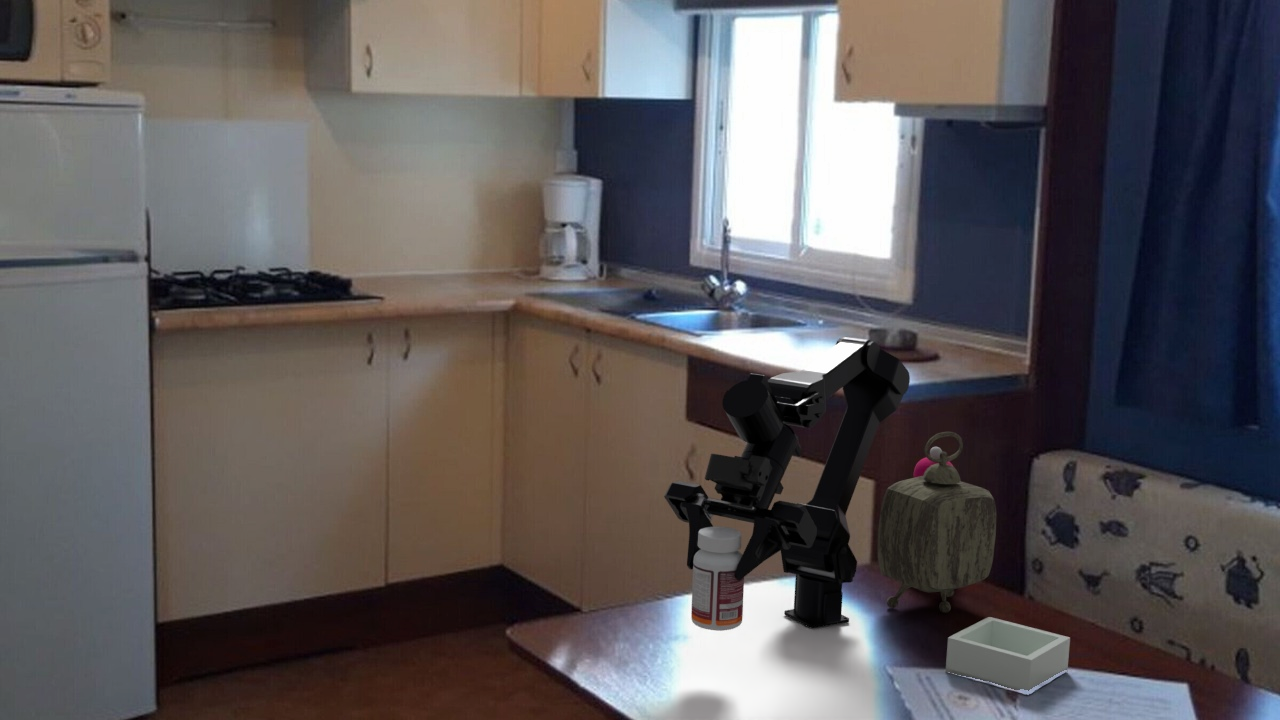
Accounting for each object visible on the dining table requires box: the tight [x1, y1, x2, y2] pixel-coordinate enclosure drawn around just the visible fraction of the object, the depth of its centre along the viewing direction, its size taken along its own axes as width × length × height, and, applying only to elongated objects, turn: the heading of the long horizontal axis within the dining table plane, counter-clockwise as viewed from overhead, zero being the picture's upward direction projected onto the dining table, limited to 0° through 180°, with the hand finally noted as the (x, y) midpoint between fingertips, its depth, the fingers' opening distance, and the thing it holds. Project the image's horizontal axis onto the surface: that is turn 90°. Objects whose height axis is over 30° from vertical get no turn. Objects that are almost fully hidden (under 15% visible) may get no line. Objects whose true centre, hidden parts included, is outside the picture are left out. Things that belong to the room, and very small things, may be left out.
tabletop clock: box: [877, 431, 997, 614], centre depth 215 cm, size 14×9×25 cm, turn 124°
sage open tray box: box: [945, 616, 1071, 691], centre depth 193 cm, size 11×11×4 cm
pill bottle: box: [691, 526, 745, 632], centre depth 187 cm, size 6×6×11 cm
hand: (712, 573), depth 185 cm, fingers closed on pill bottle, 6 cm apart
